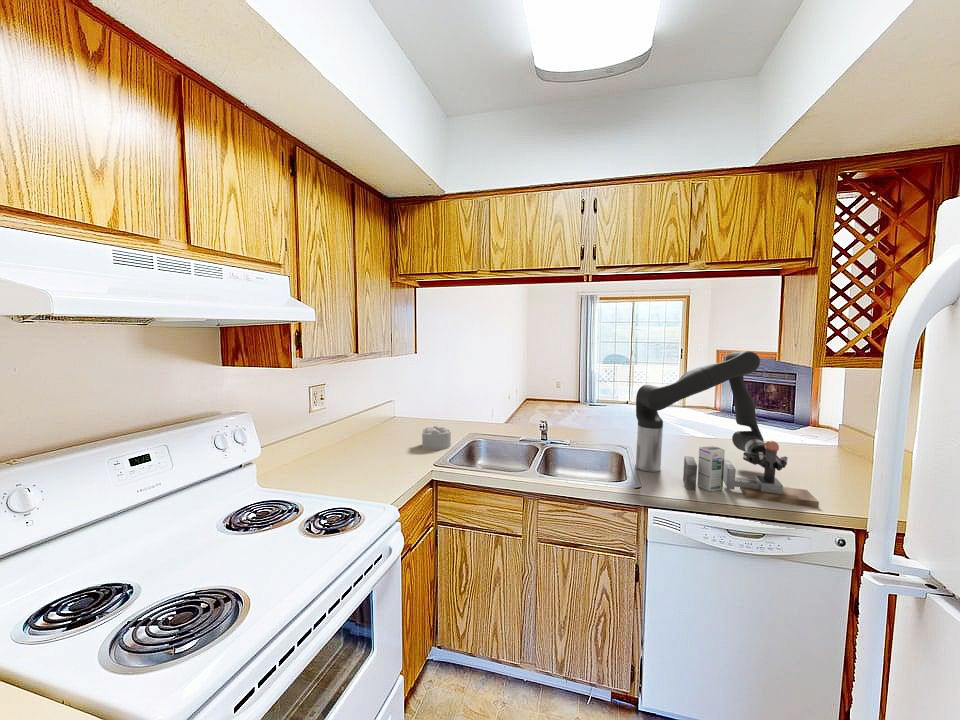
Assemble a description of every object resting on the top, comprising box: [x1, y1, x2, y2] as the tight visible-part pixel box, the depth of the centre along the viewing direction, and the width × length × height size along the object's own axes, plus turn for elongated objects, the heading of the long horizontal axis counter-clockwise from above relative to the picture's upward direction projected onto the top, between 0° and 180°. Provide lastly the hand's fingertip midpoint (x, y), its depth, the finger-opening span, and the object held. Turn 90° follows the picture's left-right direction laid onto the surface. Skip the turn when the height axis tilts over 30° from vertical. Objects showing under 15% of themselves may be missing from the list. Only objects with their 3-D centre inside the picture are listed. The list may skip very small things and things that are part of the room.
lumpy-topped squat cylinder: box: [421, 425, 452, 451], centre depth 192 cm, size 10×13×9 cm
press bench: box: [682, 455, 820, 509], centre depth 143 cm, size 38×10×9 cm, turn 69°
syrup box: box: [697, 445, 726, 492], centre depth 147 cm, size 6×6×14 cm
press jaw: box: [723, 440, 784, 494], centre depth 142 cm, size 16×10×17 cm, turn 69°
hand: (773, 466), depth 138 cm, fingers closed on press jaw, 3 cm apart
